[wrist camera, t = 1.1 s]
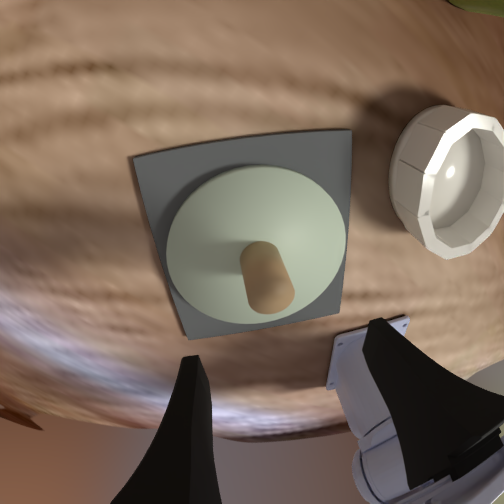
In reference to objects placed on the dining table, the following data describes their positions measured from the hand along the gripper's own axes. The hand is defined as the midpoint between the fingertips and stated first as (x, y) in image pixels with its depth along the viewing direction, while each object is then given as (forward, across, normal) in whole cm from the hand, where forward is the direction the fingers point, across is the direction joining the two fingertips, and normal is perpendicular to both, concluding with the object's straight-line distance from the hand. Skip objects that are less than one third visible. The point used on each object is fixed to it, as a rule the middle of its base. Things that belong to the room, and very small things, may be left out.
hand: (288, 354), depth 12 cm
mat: (+8, 0, 0) cm, 8 cm away
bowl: (+8, -14, -4) cm, 17 cm away
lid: (+8, 0, 0) cm, 8 cm away
